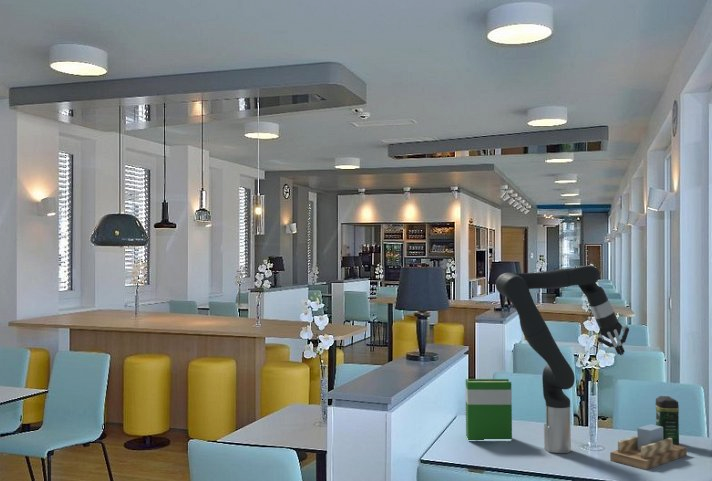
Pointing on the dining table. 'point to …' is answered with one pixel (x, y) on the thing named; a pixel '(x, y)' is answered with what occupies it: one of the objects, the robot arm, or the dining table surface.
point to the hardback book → (488, 409)
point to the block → (649, 435)
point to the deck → (646, 453)
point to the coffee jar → (668, 417)
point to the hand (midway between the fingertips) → (621, 354)
